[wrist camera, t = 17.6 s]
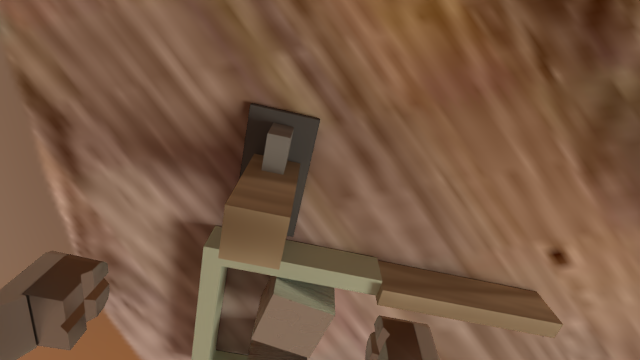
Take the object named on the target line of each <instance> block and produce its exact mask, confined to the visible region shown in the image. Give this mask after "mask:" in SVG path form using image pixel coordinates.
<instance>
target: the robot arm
mask: <svg viewBox="0 0 640 360" xmlns="http://www.w3.org/2000/svg"><path fill="white" fill-rule="evenodd" d="M107 273H108V264H107V263H105V262H103V261H98V260H94V259H89V258H85V257H80V256H76V255H71V254H65V253H61V252H56V251H50V252H47V253H45V254H43V255H42V256H41V257H40V258H39V259H37V260H36V261H35V262H34V263H32V264H31V265H30V266H29V267H27V268H26V269H25V270H24V271H22V272H21V273H20V274H19V275H18V276H16V277H15V278H14V279H13V280H11V281H10V282H9V283H8V284H7V285H5V286H4V287H3V288H2V289H0V360H16V359H18V358H20V357H21V356H23V355H25V354H26V353H28V352H30V351H31V350H33V349H35V348H36V347H37V345H38V346H44V347H51V348H58V349H65V350H71V348H72V347H73V346H74V345H75V344H76V342H77V341H78V340H79V339H80V337H81V336H82V335H83V334H84V332H85V331H86V322H87V321H89V320H91V319H93V318H95V317H97V316H98V315H99V313H100V312H101V311H102V309H103V308H104V306H105V304H106V301H107V299H108V296H109V291H110V290H109V283H108V282H107V281H106V279H105V278H104V277H105V276H106V275H107ZM374 326H375V332H373V333H371V334H370V336H369V339H368V341H367V346H366V357H365V360H440V359H439V356H438V353H437V350H436V346H435V343H434V340H433V337H432V333H431V330H430V327H429V326H428V325H427V324H422V323H417V322H412V321H411V322H410V321H406V320H401V319H396V318H390V317H385V316H378V317H377V319H376V321H375V324H374Z"/></svg>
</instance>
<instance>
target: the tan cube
mask: <svg viewBox="0 0 640 360" xmlns="http://www.w3.org/2000/svg"><path fill="white" fill-rule="evenodd" d="M334 317H335V298H334V287H329V286H324V285H318V284H313V283H308V282H303V281H297V280H292V279H287V278H281V277H276V276H271V277H270V279H269V281H268V283H267V285H266V287H265V289H264V291H263V293H262V295H261V300H260V304H259V308H258V312H257V316H256V320H255V324H254V329H253V333H252V337H251V339H252V340H255V341H258V342H261V343H264V344H267V345H270V346H273V347H276V348H279V349H282V350H286V351H289V352H292V353H295V354H298V355H301V356H304V357H307V358H310V356H311V354H312V353H313V351H314V349H315V348H316V346H317V344H318V343H319V341H320V340H321V338H322V336H323V335H324V333H325V331H326V330H327V328H328V326H329V325H330V323H331V322H332V320H333V318H334Z"/></svg>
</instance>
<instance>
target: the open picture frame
mask: <svg viewBox="0 0 640 360" xmlns="http://www.w3.org/2000/svg"><path fill="white" fill-rule="evenodd" d="M221 232H222V227H219V226H215V227H214V229H213V231H212V232H211V234H210V236H209V238H208V240H207V241H206V243H205V245H204V248H203V257H202V266H201V275H200V285H199V294H198V303H197V312H196V322H195V331H194V340H193V349H192V359H191V360H247V357H248V356H247V355H241V354H235V353H229V352H223V351H217V350H216V344H217V337H218V330H219V323H220V316H221V310H222V303H223V296H224V289H225V282H226V275H227V268H228V267H229V268H234V269H239V270H245V271H250V272H255V273H260V274H266V275H271V276H276V277H281V278H287V279H292V280H297V281H303V282H308V283H313V284H318V285H324V286H329V287H334V288H339V289H345V290H350V291H355V292H360V293H366V294H371V295H376V296H377V294H378V291H379V289H380V286H381V284H382V277H381V273H380V268H379V264H378V260H377V258H375V257H370V256H365V255H360V254H355V253H350V252H345V251H340V250H335V249H330V248H325V247H320V246H315V245H310V244H305V243H300V242H295V241H290V240H286V241H285V245H284V250H283V254H282V259H281V264H280V268H279V270H278V269H272V268H267V267H262V266H257V265H251V264H246V263H241V262H236V261H230V260H225V259H220V258H218V255H219V248H220V240H221Z"/></svg>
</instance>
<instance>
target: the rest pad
mask: <svg viewBox="0 0 640 360" xmlns="http://www.w3.org/2000/svg"><path fill="white" fill-rule="evenodd" d="M319 122H320V119H319V118H315V117H310V116H306V115H301V114H297V113H293V112H288V111H284V110H279V109H275V108H271V107H266V106H262V105H258V104H253V103H251V104H250V110H249V117H248V124H247V130H246V137H245V144H244V151H243V158H242V165H241V172H240V178H241V176H242V174H243V172H244V171H245V169H246V167H247V165H248V164H249V162H250V160H251V159H252V157H253V155H254V154H259V155H263V156H264V152H265V146H266V140H267V134H268V132H269V130H270V128H271V126H272V124H273V123H277V124H282V125H286V126H291V127H294V130H293V135H292V140H291V145H290V150H289V155H288V160H287V161H291V162H296V163H300V169H299V175H298V180H297V186H296V191H295V196H294V202H293V207H292V213H291V218H290V222H289V227H288V232H287V236H291V237H293V235H294V231H295V226H296V222H297V218H298V213H299V209H300V205H301V200H302V196H303V192H304V187H305V183H306V179H307V174H308V170H309V166H310V161H311V157H312V153H313V148H314V144H315V140H316V135H317V131H318V127H319Z"/></svg>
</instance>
